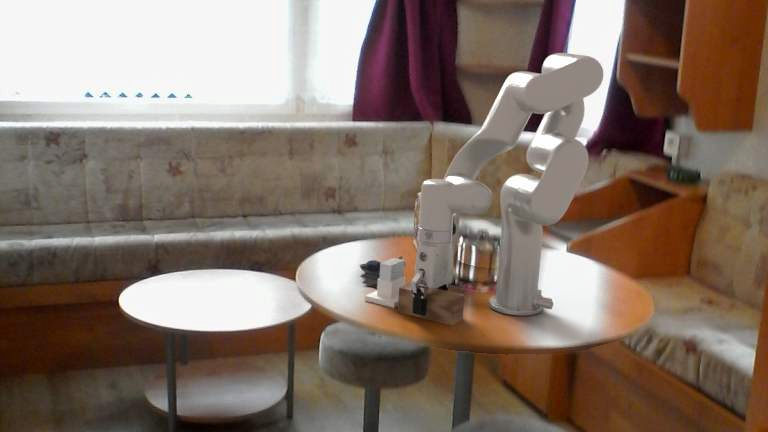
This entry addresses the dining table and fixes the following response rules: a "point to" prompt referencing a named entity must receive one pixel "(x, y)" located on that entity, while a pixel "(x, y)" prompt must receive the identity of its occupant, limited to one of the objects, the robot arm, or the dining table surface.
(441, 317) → the wooden block
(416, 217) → the decorative jar
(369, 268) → the decorative bat
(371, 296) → the fulcrum stand
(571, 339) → the dining table surface
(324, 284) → the dining table surface
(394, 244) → the dining table surface
